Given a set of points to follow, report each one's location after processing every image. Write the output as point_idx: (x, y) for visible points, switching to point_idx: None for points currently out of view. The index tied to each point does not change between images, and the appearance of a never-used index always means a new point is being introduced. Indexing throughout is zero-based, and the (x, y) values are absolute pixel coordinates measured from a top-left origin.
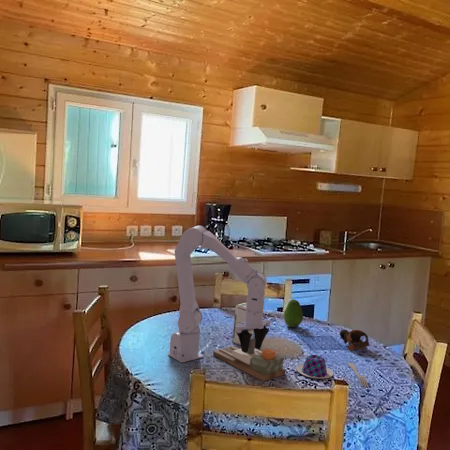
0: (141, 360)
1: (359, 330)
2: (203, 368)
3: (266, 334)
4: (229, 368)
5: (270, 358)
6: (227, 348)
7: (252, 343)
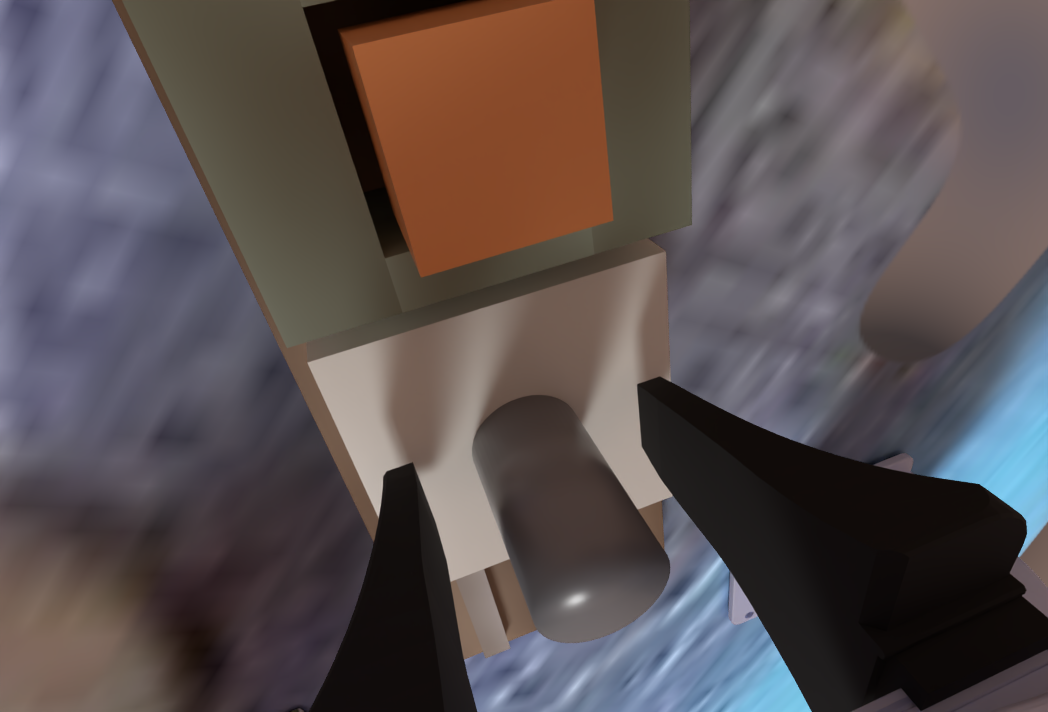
0: (1016, 497)
1: None
2: (861, 353)
3: (318, 702)
4: (699, 316)
5: (476, 6)
6: (529, 624)
7: (601, 495)
